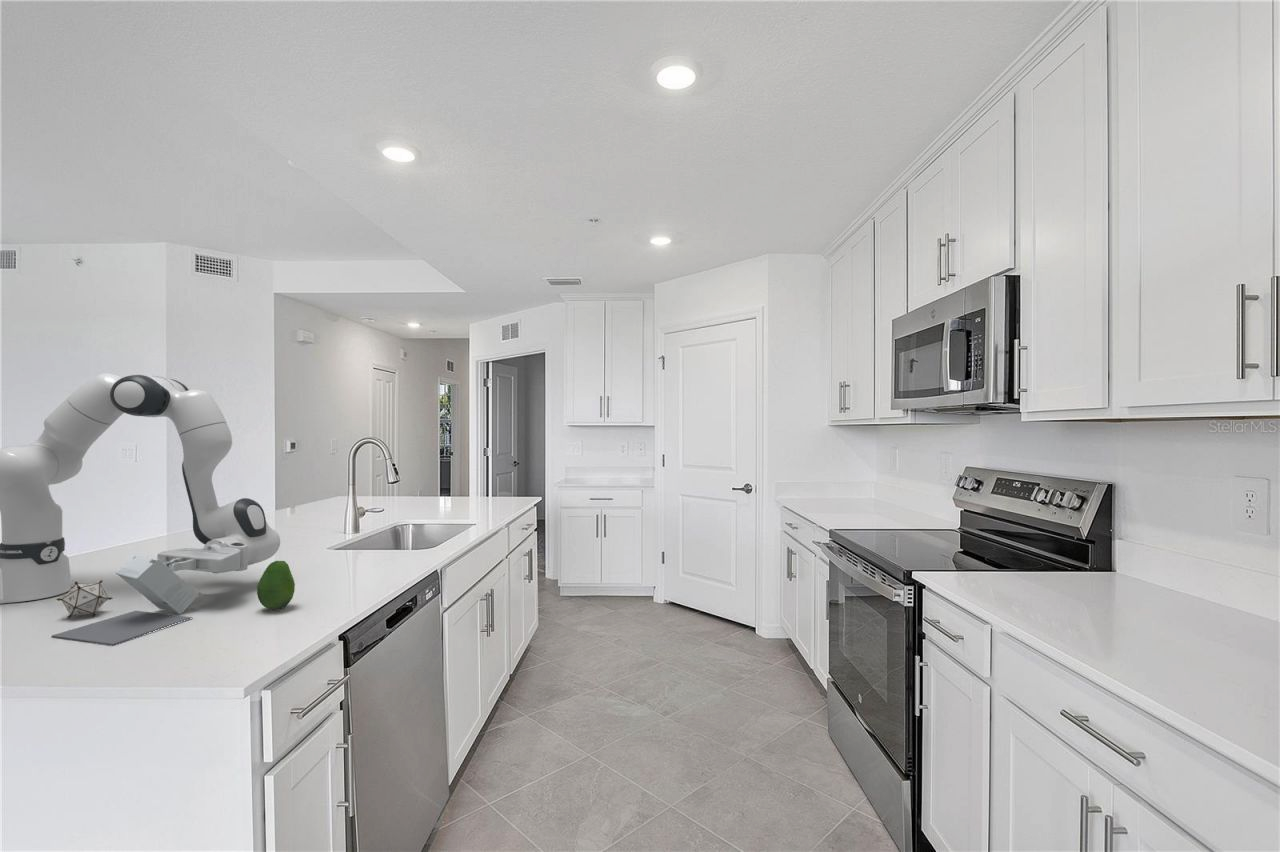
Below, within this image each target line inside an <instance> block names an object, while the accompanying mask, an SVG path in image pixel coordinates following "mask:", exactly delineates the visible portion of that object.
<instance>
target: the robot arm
mask: <svg viewBox="0 0 1280 852" xmlns="http://www.w3.org/2000/svg"><path fill="white" fill-rule="evenodd" d="M124 414H127V415H130V416H133V417H144V418H159V417H161V418H162V417H167V418H169V419H170V420H171V421H172V423H173V424H174V426H175V428H176V429H175V430H176V432H177V434H178V437H179V439H180V442H181V447H182V452H183V454H182V455H183V458H182V459H183V460H182V463H181V471H182V476H183V481H184V485H185V489H186V493H187V497H188V500H189V506H190V508H191V512H192V530H193V534H194V536H195V538H196V539H197V540H198V541H199V542H200V543H201V544H203V545H204V546H203V548H192V547H184V548H177V549H172V550H164V551H160V552H158V553H157V556H156V557H157V559H159V560H161V561H162V562H163V563H164V564H165V565H166V566H167V567H168V568H170V569H171V570H172V571H173V572H178V571H194V572H195V571H197V572H206V573H212V574H221V573H223V574H224V573H229V572H242V571H247V570H248V567H249V566H251V565H255V564H258V563H261V562H265V561H267V560H269V559H271V558H272V557H274V556H275V555H276V553H278V551H279V549H280V546H281V538H280V535H279V533H278V532H277V531H276V530H275V529H273V528H272V527H271V526H270V525H269V523H268V522H267V520H266V515H265V511H264V508H263V507H262V505H260V504H259V502H257V501H256V500H255V499H251V498H249V497H248V498H246V497H244V498H240V499H237V500H235V501H231V502H230V503H227V504H224V505H222V506H219V505H218V504H219V503H218V501H217V500H218V499H217V497H216V492H215V488H214V484H213V475H214V472H215V469H216V468H217V466H218V465H219V464H220V463H221V462H222V460H224V458H225V457H226V456H227V455H228V454H229V452H230V451H231V449H232V445H233V436H232V433H231V430H230V427H229V425H228V423H227V420H226V419H225V416H224V414H223V412H222V410H221V409H220V406H219V405H218V403H217V402H216V401H215V399H214V398H213V396H212V395H211V393H210V392H207V391H204V390H202V389H189V388H188V387H187V386H186V385H185V384H184V383H182V382H181V381H178V380H177V379H173V378H168V377H164V376H163V377H162V376H158V375H142V374H132V375H127V376H123V377H122V376H120V375H118V374H114V373H109V372H107V373H101V374H98V375H96V376H94V377H93V378H90V380H88V381H86V382H85V383H84V384H82V385H81V386H80V387H78V388H77V389H76V390H74V391H73V392H71V394H70V395H69V396H68V397H67V398H65V400H63V402H61V403H60V404H59V405H58V406H57V407H56V408H55V409H54V410H52V412H51V413H50V414H49V415H47V416H46V418H45V419H44V422H43V428H44V429H43V431H42V433H41V435H40V436H39V438H38V439H37V440H35V441H34V442H31V443H30V444H28V445H13V446H6V447H2V448H0V518H1V519H0V520H1V542H0V605H1V604H8V603H9V604H10V603H20V602H21V603H22V602H26V601H27V602H29V601H35V600H41V599H46V598H51V597H55V596H59V595H63V594H65V593H68V592H69V591H70V590H71V589H72V588H73V587H74V586H75V585H76V584H75V580H72V576H71V569H70V567H71V566H70V560H69V559H70V558H69V557H68V556H67V555H66V554H64V551H65V550H66V549H65V547H66V541H65V537H63V509H62V507H61V505H59V504H57V503H56V501H55V500H54V499H53V496H52V494H51V491H50V486H49V485H51V486H52V485H58V484H61V483H63V482H65V481H68V480H70V479H71V478H73V477H75V476H77V475H78V474H79V472H80V471H81V469H82V468H83V458H85V456H86V454H87V452H88V451H89V449H90V448H91V446H92V445H93V443H95V442H96V441H97V440H98V439H99V438H100V437H101V436H102V435H103V434H104V433H105V432H106V431H107V430H108V429H109V428H110V427H111V426H112V425H113V424H114V423H115V422H117V420H118V419H119V418H120V417H121V416H122V415H124Z"/></svg>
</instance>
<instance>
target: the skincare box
mask: <svg viewBox="0 0 1280 852" xmlns="http://www.w3.org/2000/svg"><path fill="white" fill-rule="evenodd" d="M115 574H116V575H118V577H120V578H122V579H123V581H124V582H126V583H127V584H129V586H131V587H132V588H133V589H135V590H136V591H137V592H138V593H139V594H141V595H142V596H143V597H144V598H146V599H147V600H148V601H149V602H150V603H151V604H153V605H154V606H155V607H157V609H159V610H162V611H163V610H164V611H167V612H168V611H169V612H170V613H171V612H172V613H175V614H176V615H181V614H182V613H183V612H184V611H186V609H187V608H188V607H190V605H191V604H192V603H193V602H194V601H195V600H196V598H198V597H199V596H200V593H198V592H197V591H196V590H195V589H194V588H192V587H191V586H190V585H189V584H188V583H186V581H184V580H183V579H182V578H181V577H180V576H179V575H178V574H177V573H175V571H172V570H171V569H170V568H168V567H167V566H166V565H165V564H164V563H163V562H162V561H161V560H159V559H157V558H156V557H150V556H149V555H143V554H139V553H136V554H134V555H133V556H132V557H131V558H130V559H129V560H128V561H127V562H126V563H124V564H123V566H122V567H120V568H119V569H117V571H115Z"/></svg>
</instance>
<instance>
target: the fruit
mask: <svg viewBox="0 0 1280 852" xmlns="http://www.w3.org/2000/svg"><path fill="white" fill-rule="evenodd" d="M295 587H296V584H295V580H294V577H293V575H292V571H291V569H290V566H289V564H288V563H287V562H286V561H285V560H275V561H273V562H272V561H271V563H269V564H268V565H267V567H266V568H265V570H264V572H263V574H262V575H261V577H260V579H259V582H258V585H257V590H256V591H257V593H256V594H257V599H258V601H259V603H260V604H261V605H262V606H263V607H264V608H265V609H267V610H270V611H279V610H282V609H283V608H285V607H287V606H288V605H289V603H290V602H291V601H292V600H293V597H294V594H295V591H296V590H295V589H296V588H295Z"/></svg>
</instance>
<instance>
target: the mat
mask: <svg viewBox="0 0 1280 852" xmlns="http://www.w3.org/2000/svg"><path fill="white" fill-rule="evenodd" d="M190 618H192V619H193V617H192V616H185V615H178V614H168V613H158V612H150V611H141V610H133V611H130V612H127V613H123V614H119V615H117V616H116V615H115V616H113V617H110V618H107V619H103V620H99V621H95V622H93V623H90V624H86V625H83V626H80V627H76V628H71V629H69V630H66V631H63V632H59V633H56V634H53V635H52V634H51V638H52V639H53V638H54V639H60V640H68V641H75V642H81V643H89V644H96V643H97V644H96V645H103V644H105V645H104V646H110V645H112V646H111V647H114V646H116V644H117V645H120V644H123V643H126V642H129V641H131V640H130V639H132V640H134V639H133V638H135V639H137V638H136V637H138V638H140V637H139V636H141V637H143V636H142V635H144V634H147V633H149V632H153V631H155V630H158V629H161V628H164V627H167V626H169V625H172V624H175V623H178V622H181V621H184V620H187V619H190ZM167 628H168V627H167ZM164 629H165V628H164ZM161 630H162V629H161ZM158 631H159V630H158ZM155 632H156V631H155ZM153 633H154V632H153ZM147 635H148V634H147ZM144 636H145V635H144ZM128 640H129V641H128ZM125 641H126V642H125ZM122 642H123V643H122ZM119 643H120V644H119ZM113 645H114V646H113Z"/></svg>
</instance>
